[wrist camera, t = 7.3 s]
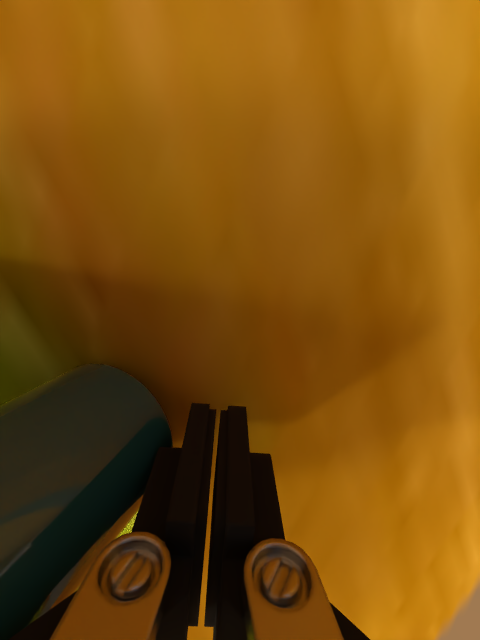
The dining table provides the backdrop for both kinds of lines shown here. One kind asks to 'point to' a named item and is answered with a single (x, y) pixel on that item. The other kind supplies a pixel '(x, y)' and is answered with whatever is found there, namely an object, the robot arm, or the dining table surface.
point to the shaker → (69, 481)
